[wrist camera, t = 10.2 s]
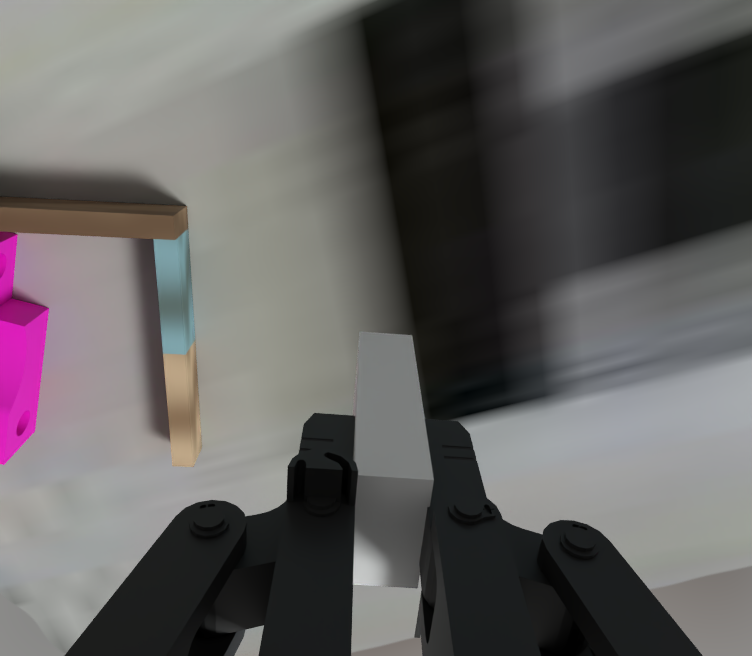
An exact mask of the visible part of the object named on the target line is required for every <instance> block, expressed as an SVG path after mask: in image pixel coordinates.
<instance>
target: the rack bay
mask: <svg viewBox="0 0 752 656" xmlns="http://www.w3.org/2000/svg"><path fill="white" fill-rule="evenodd" d="M0 232H20V233H40V234H61V235H81V236H101V237H122V238H142V239H153V241H154V253H155V264H156V276H157V288H158V300H159V312H160V323H161V335H162V347H163V359H164V371H165V383H166V394H167V406H168V418H169V430H170V442H171V453H172V465H173V466H184V467H194V464H195V462H196V460H197V457H198V455H199V453H200V451H201V448H202V443H201V427H200V410H199V394H198V378H197V362H196V346H195V330H194V314H193V298H192V282H191V266H190V250H189V234H188V218H187V206H178V205H158V204H139V203H119V202H99V201H80V200H60V199H40V198H21V197H1V196H0Z"/></svg>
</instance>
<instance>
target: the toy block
mask: <svg viewBox="0 0 752 656" xmlns="http://www.w3.org/2000/svg"><path fill="white" fill-rule="evenodd" d="M16 246H17V234H14V233H10V232H0V464H3V465H4V464H5V463H6V462H7V461H8V460H9V459H10V458H11V457H12V456H13V454H14V453H15V452H16V451H17V450H18V449H19V448H20V447H21V446H22V445H23V444H24V442H25V441H26V440H27V439H28V438H29V437H30V436H31V435H32V434H33V433H34V432H35V425H36V417H37V408H38V399H39V391H40V382H41V373H42V364H43V356H44V347H45V338H46V330H47V321H48V312H49V308H47V307H43V306H39V305H35V304H31V303H28V302H24V301H20V300H16V299H12V290H13V279H14V268H15V257H16Z"/></svg>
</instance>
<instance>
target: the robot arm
mask: <svg viewBox="0 0 752 656" xmlns="http://www.w3.org/2000/svg"><path fill="white" fill-rule="evenodd" d="M419 575H420V577H421V587H422V591H421V598H420V604H419V611H418V617H417V624H416V630H415V637H416V638H420V635H421V642H422V654H423V656H702V654H701V653H700V652H699V651H698V649H696V647H695V646H694V644H693V643H692V642H691V641H690V639H689V638H688V637H687V636H686V635H685V633H684V632H683V631H682V630H681V628H680V627H679V626H678V625H677V623H676V622H675V621H674V620H673V619H672V617H671V616H670V615H669V614H668V612H667V611H666V610H665V609H664V607H663V606H662V605H661V604H660V602H659V601H658V600H657V599H656V597H655V596H654V595H653V594H652V593H651V591H650V590H649V589H648V588H647V586H646V585H645V584H644V583H643V581H642V580H641V579H640V578H639V576H638V575H637V574H636V573H635V571H634V570H633V569H632V568H631V567H630V565H629V564H628V563H627V562H626V560H625V559H624V558H623V557H622V555H621V554H620V553H619V552H618V550H617V549H616V548H615V547H614V546H613V544H612V543H611V542H610V541H609V540H608V539H607V538H606V537H605V536H604V535H603V534H602V533H601V532H600V531H598V530H596V529H594V528H592V527H591V526H589V525H587V524H583V523H580V522H576V521H569V520H560V521H556V522H553V523H550V524H549V525H548V526H547V527H546V528H545V529H544V531H543V535H542V534H539V533H535V532H532V531H528V530H525V529H522V528H519V527H516V526H514V525H512V524H510V523H508V522H506V521H504V520H503V519H502V516H501V514H500V512H499V510H498V508H497V506H496V505H495V504H493V503H492V502H491V501H490V500H489V499H487V497H486V494H485V490H484V486H483V482H482V479H481V475H480V471H479V467H478V463H477V461H476V456H475V452H474V450H473V445H472V441H471V437H470V434H469V433H468V431H467V430H466V429H465V428H464V427H463V426H462V425H461V424H460V423H459V422H458V421H444V420H430V419H425V418H424V412H423V405H422V398H421V392H420V385H419V378H418V372H417V365H416V359H415V352H414V345H413V339H412V335H399V334H386V333H373V332H359V344H358V356H357V369H356V381H355V393H354V405H353V416H350V415H336V414H321V413H314V414H313V415H312V416H311V417H310V418H309V419H308V420H307V421H306V422H305V424H304V427H303V432H302V439H301V443H300V450H299V454H298V455H297V456H295V457H294V458H292V460H291V462H290V464H289V465H288V478H287V500H286V501H285V502H284V503H283V504H282V505H280V506H279V507H278V508H275V509H273V510H271V511H269V512H265V513H262V514H257V515H252V516H246V517H245V514H244V512H243V511H242V510H241V509H240V508H238V507H237V506H236V505H234V504H231V503H229V502H226V501H217V500H209V501H203V502H198V503H195V504H193V505H191V506H189V507H186V508H185V509H184V510H182V511H181V512H180V513H179V514H178V515H177V516H176V517H175V518H174V519H173V520H172V522H171V523H170V524H169V525H168V527H167V528H166V529H165V530H164V532H163V533H162V534H161V535H160V537H159V538H158V539H157V540H156V542H155V543H154V544H153V545H152V547H151V548H150V549H149V550H148V552H147V553H146V554H145V555H144V557H143V558H142V559H141V561H140V562H139V563H138V564H137V566H136V567H135V568H134V569H133V571H132V572H131V573H130V574H129V576H128V577H127V578H126V579H125V581H124V582H123V583H122V584H121V586H120V587H119V588H118V589H117V591H116V592H115V593H114V594H113V596H112V597H111V598H110V599H109V601H108V602H107V603H106V604H105V606H104V607H103V608H102V609H101V611H100V612H99V613H98V614H97V616H96V617H95V618H94V619H93V621H92V622H91V623H90V624H89V626H88V627H87V628H86V629H85V631H84V632H83V633H82V634H81V636H80V637H79V638H78V639H77V641H76V642H75V643H74V644H73V646H72V647H71V648H70V649H69V651H68V652H67V653H66V655H65V656H234V655H235V653H236V651H237V649H238V647H239V645H240V643H241V641H242V639H243V637H244V633H245V629H249V628H254V627H258V626H262V625H264V629H263V635H262V640H261V646H260V651H259V656H351V635H352V599H353V585H370V586H388V587H405V588H418V582H419Z"/></svg>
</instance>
